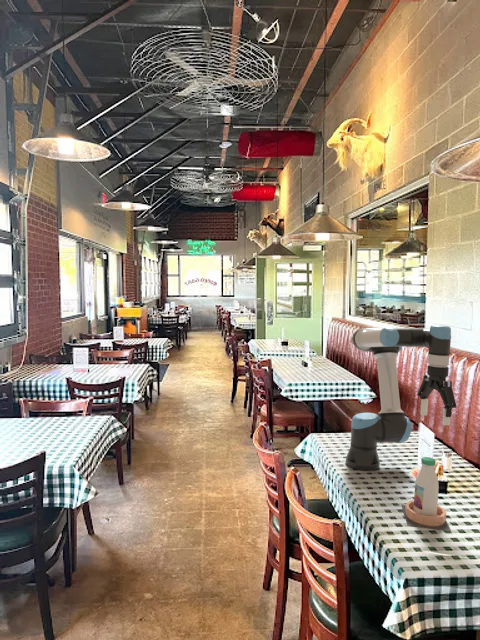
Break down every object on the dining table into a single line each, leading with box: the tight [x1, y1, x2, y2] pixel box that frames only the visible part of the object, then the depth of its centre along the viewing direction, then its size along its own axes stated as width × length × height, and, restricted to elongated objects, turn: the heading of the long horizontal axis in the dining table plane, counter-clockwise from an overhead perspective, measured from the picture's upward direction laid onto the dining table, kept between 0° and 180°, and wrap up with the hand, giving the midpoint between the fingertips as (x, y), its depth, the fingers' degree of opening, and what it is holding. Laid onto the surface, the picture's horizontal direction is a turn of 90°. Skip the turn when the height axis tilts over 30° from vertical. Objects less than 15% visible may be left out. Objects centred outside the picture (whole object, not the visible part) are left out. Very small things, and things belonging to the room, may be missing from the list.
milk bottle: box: [413, 456, 440, 516], centre depth 163 cm, size 8×8×20 cm
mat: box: [400, 504, 453, 532], centre depth 163 cm, size 14×16×1 cm
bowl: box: [404, 500, 447, 527], centre depth 163 cm, size 13×13×3 cm
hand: (434, 420), depth 179 cm, fingers open, 13 cm apart
